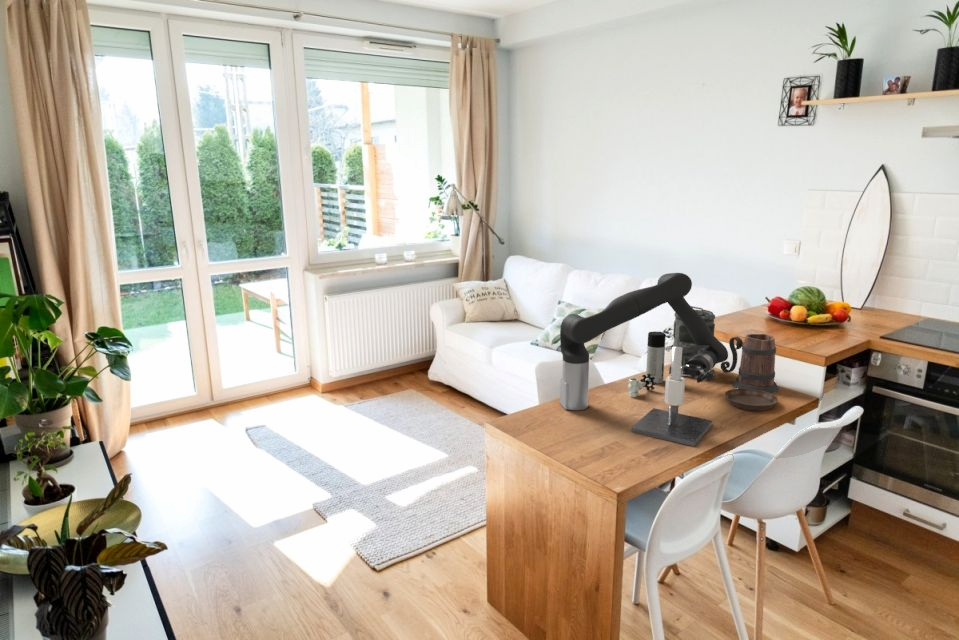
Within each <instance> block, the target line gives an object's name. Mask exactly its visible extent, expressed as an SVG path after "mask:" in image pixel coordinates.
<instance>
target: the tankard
mask: <svg viewBox="0 0 959 640" xmlns="http://www.w3.org/2000/svg"><path fill="white" fill-rule="evenodd" d="M735 341H736V342H735ZM728 344H729V348H730V352H731V354H732V363H731V364H730V362H729V361H727V360H726V361H724V362H720V370H721V371H722V372H723V373H725V374H728V373H731V372H733V371H735V369H736V366H737V364H738V351H737V350H740V349H741V356H740V364H739V367H738V377H736V378H734V379H735V380H733V382H732V383H731V384H732V386H733V387H734V389H737V388H738V389H754V390H760V391H765V392H768V393H771V394H775V393H777V391H778V390H779V391H780V387H779V386H778V385H777V382H775V378H776V371H775V370H776V369H775V364H776V353H777V347H776V341H775V337H774V336H772V335H770V334H767V333H749V334H746V335H745V337H744V341H743V340H742V338H741V337H739V336H734V337H733V336H732V337H731V338H730V339H729V343H728ZM735 344H736V345H735ZM730 365H731V366H730ZM778 387H779V388H778ZM779 391H778V392H779ZM774 392H775V393H774Z"/></svg>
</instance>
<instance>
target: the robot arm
mask: <svg viewBox="0 0 959 640" xmlns="http://www.w3.org/2000/svg"><path fill="white" fill-rule="evenodd" d="M692 285H693V281H692V279H691V277H690V276H689V275H687V274H685V273H683V272H671V273H665V274H663V275H661V276H660V277H659V278H658V280H657V284H655V285H651V286H648V287H645V288H644V287H643V288H640V289H636V290H632V291H629V292H626V293H625V294H622V295H620V296H618V297H615V298H614V299H613V300H611V302H609V304H608V305H607V306H606V307H605V308H604V309H603V310H602V311H600V312H597V313H596V314H592V315H590V316H587V317H585V316H581V315H578V314H577V313H576V314H574V313H571V314H567V315H566V316H565V317H564V318H563V319H562V320H561V321H562V322H561V324H560V329H559V338H560V352H561V355H562V378H561V379H560V380H559V381H560V383H559V385H560V386H559V390H560V391H559V393H560V394H559V405H561V407H563V409H564V410H568V411H569V410H570V411H582V410H586V409H588V407H589V405H588V404H589V375H590V374H589V372H590V353H589V351H588V350H587V348H586V345H585V344H586V343H588V342H590V341H592V340H594V339H595V338H597V337H599V336H600V335H602V334H604V333H605V332H607V331H610V330H611V329H613V328H616V327H618V326H620V325H622V324H625V323H627V322H630V321H631V320H635V319H636V318H638V317H640V316H642V315H644V314H645V313H648V312H651V311H652V310H654V309H656V308H657V307H660V306H661V305H664V304H666V303H667V304H668V305H669V306H670V307H671V308H672V310H673V311H674V314H675V313H676V314H677V315H678V317H679V318H680V319H681V321H682V322H683V324H684V325H685V327H686V328H687V330H688V332H689V334H690V335H691V337H692V339H693V341H694V342H695V344H696V345H708V347H705V348H702V349H700V350H699V351H698V354H697V355H695V356H694V357H693V358H691V359H690V360H689V361H688V362H687V363H686V365H683V366H681V377H689V376H690V378H692V379H694V380H696V383H698V384H700V383H701V382H704V381H708V382H712V380H713V379H714V378H715V375H716V370H715V369H714V367H715V366H716V365H717V364H719V363H720V364H721V363H722V362H726V361H727V360H728V358H729V351H728V349H727V348H726V346H725V345H724V344H723V343H722V342H721V340H719V339H718V338H717V337H716V336H715V334H714V335H713V334H712V333H711V331H710V329H709V328H708V326H707V324H706V322H705V321H704V319H703V318H702V317H701V316H700V315H699V314H698V313H697V312H696V311H695V310H696V309H695V308H692V307H691V304H689V303H688V302H687V300H686V298H685V297H686V296H687V295H688V294H690V292H691V290H692ZM668 371H669V373H668V374H669V375H671V365H670V366H669V369H668ZM683 372H684V373H683Z"/></svg>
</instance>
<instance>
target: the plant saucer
mask: <svg viewBox="0 0 959 640" xmlns="http://www.w3.org/2000/svg"><path fill="white" fill-rule="evenodd" d="M723 395H724V397H725V399H726V400H727V402H728V403H729V404H730V405H732V406H734V407H735V406H736V407H735V408H739V409H742V410H747V411H766V410H770V409H772V408H773V407H774V406H775V405H776V404H777V403H778V401H779V399H778V397H777V396H776V395H775V394H774V393H768V392H765V391H760V390H754V389H737V388H732V389H728V390H726V391H725V392H724V394H723Z"/></svg>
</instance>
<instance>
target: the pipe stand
mask: <svg viewBox="0 0 959 640" xmlns="http://www.w3.org/2000/svg"><path fill="white" fill-rule="evenodd" d="M672 346H673V347H672V348H671V363H670V364H671V365H670V366H671V374H670V376H671V379H670V380H674V381H680V377H682V376H681V361H682V347H681V346H674V345H672ZM667 405H668V410H665V409H664V410H663V409H660V408H655V407H654V408H653V407H652V409H651V410H650V411H648V412H647V413H646V414H645V415H644V416H643V417H641V418H640V419H639V420H638V421H637V422H636V423H634V424H633V425H632V426H631V430H630V432H632V433H636V434H639V435H644V436H647V437H652V438H656V439H661V440H664V441H668V442H669V441H670V442H673V443H678V444H681V445H686V446H690V447H695V446H696V445H697V444H698V443H699V441H701V439H702V438H703V437H704V436H705V434H707V432H708V431H709V430H710V429H711V427H712V426H714V425H713V423H714V420H711V419H706V418H703V417H702V418H701V417H698V416H697V417H696V416H693V415H688V414H684V413H679V407H680V405H676V406H674V405H669V404H667Z"/></svg>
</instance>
